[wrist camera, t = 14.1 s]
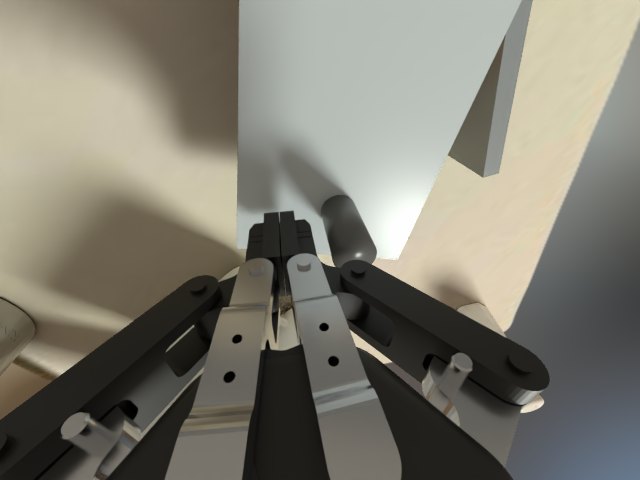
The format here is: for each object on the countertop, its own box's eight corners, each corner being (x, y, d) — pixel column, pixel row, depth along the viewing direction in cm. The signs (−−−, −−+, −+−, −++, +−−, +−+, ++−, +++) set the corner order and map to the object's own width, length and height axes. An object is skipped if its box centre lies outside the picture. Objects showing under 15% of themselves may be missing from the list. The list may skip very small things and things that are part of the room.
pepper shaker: (441, 314, 33) (499, 410, 24) (482, 296, 32) (560, 389, 23) (451, 332, 36) (506, 423, 27) (489, 316, 35) (560, 406, 26)
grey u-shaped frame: (332, 187, 20) (345, 221, 16) (247, -160, 11) (229, -284, 7) (459, 150, 20) (504, 176, 16) (494, -250, 10) (634, -442, 6)
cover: (231, 240, 16) (216, 301, 12) (228, -345, 6) (143, -1012, 2) (393, 252, 18) (423, 306, 14) (578, -154, 8) (828, -320, 5)
